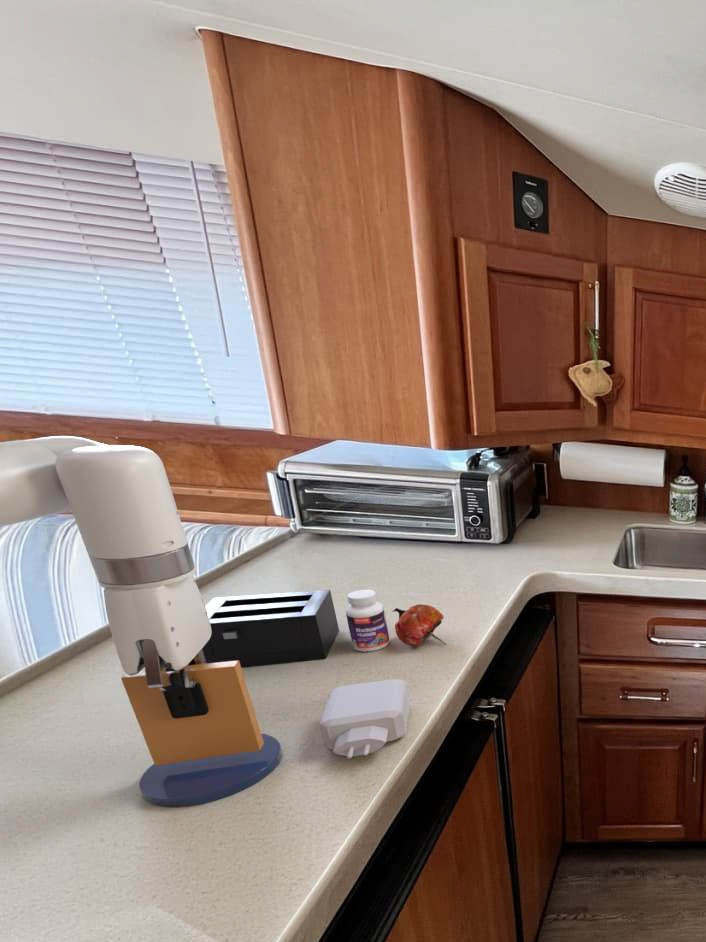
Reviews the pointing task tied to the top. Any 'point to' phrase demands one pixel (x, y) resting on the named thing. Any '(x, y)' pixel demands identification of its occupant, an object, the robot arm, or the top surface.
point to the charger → (365, 716)
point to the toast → (197, 736)
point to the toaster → (271, 628)
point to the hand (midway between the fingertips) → (195, 709)
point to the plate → (209, 776)
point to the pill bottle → (366, 621)
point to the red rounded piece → (417, 624)
